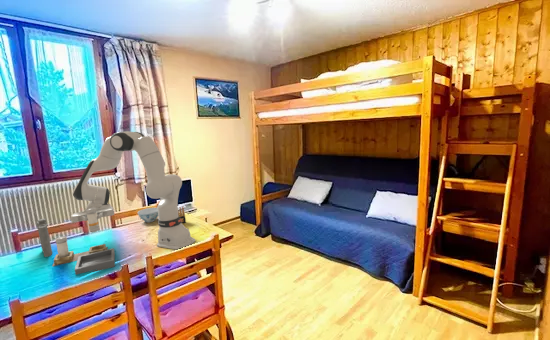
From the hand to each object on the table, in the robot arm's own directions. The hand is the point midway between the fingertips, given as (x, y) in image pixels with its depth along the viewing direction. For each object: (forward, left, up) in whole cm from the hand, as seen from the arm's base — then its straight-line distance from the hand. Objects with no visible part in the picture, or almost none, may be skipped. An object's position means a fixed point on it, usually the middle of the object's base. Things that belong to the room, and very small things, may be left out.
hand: (92, 218), depth 150 cm
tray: (-12, +6, -21) cm, 25 cm away
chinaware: (+24, -46, -21) cm, 56 cm away
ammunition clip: (-1, -51, -21) cm, 56 cm away
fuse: (+8, +13, -20) cm, 25 cm away
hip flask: (+29, +14, -21) cm, 38 cm away
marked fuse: (+1, 0, -7) cm, 7 cm away
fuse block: (+4, +6, -21) cm, 22 cm away
